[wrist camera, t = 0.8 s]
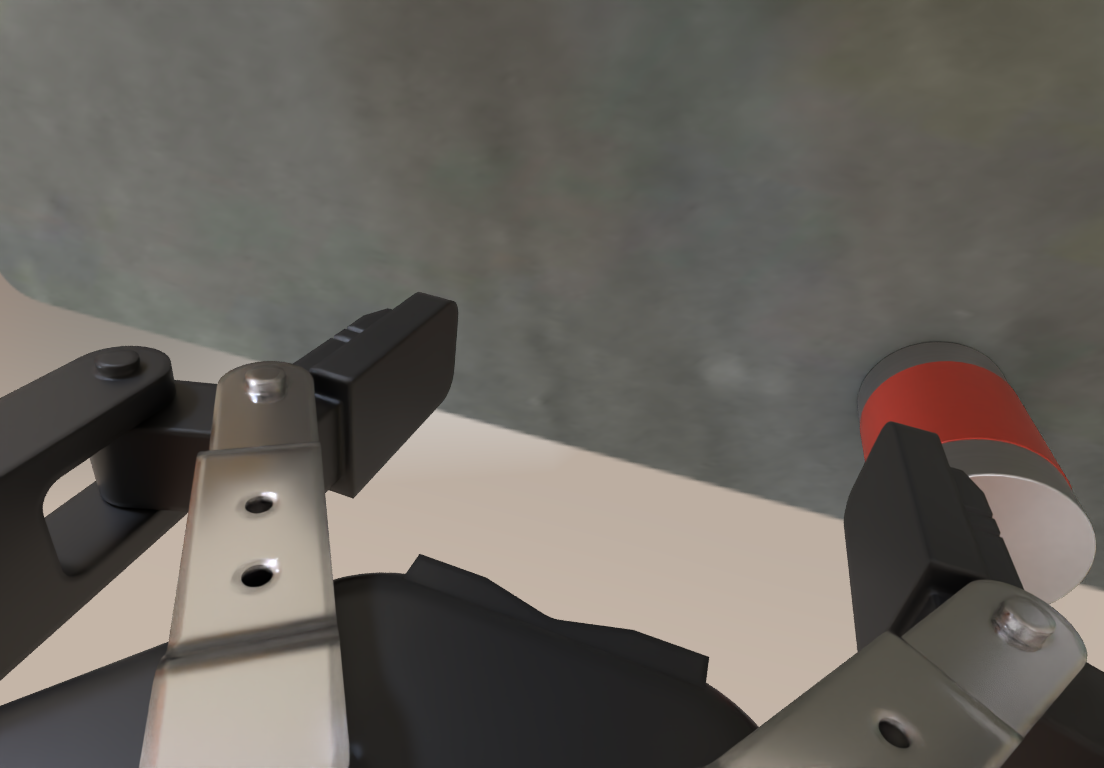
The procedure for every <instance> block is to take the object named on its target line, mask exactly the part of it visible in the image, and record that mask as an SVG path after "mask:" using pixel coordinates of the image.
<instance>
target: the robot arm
mask: <svg viewBox="0 0 1104 768" xmlns="http://www.w3.org/2000/svg"><path fill="white" fill-rule="evenodd" d="M457 325H458V307H457V304H456V302H454V301H451V300H447V299H444V298H440V297H436V296H433V295H429V294H425V293H422V292H417V293H415V294H414V295H412V296H411V297H410V298H408V299H407V300H405V301H404V302H403V303H401V304H400V305H398V306H397V307H396V308H394V309H393V310H392V309H388V308H387V309H384V310H381V311H377V312H374V313H371V314H367V315H364V316H363V317H361V318H360V319H358V320H357V321H355V322H354V323H352V324H351V325H349V326H348V328H347V329H343V330H342V331H340V332H339V333H338V334H336V335H335V336H334V339H333V338H330V339H329V340H327V341H326V342H324V343H323V344H321V345H320V346H318V347H317V348H316V349H314V350H313V351H311V352H310V353H308V354H307V355H305V356H304V357H302V358H301V359H299V360H298V361H296V362H295V363H293V364H291V363H286V362H279V361H263V362H255V363H250V364H246V365H242V366H240V367H237V368H235V369H233V370H231V371H229V372H228V373H226V374H225V375H224V376H223V377H221V379H220V380H219V382H218V384H211V383H201V382H190V381H180V380H174V377H173V371H172V366H171V361H170V359H169V357H168V356H167V355H166V354H165V353H163V352H161V351H159V350H156V349H153V348H148V347H141V346H120V347H112V348H106V349H102V350H98V351H94V352H92V353H88V354H86V355H84V356H82V357H80V358H77V359H76V360H74V361H72V362H70V363H68V364H66V365H64V366H62V367H60V368H58V369H56V370H54V371H52V372H50V373H48V374H46V375H45V376H43V377H40V378H39V379H37V380H35V381H33V382H31V383H29V384H27V385H25V386H23V387H21V388H19V389H17V390H15V391H13V392H11V393H9V394H7V395H5V396H4V397H1V398H0V680H2V679H3V678H4V677H5V676H6V675H7V674H8V673H9V672H10V671H11V670H12V669H14V668H15V667H16V666H17V665H18V664H19V663H20V662H22V661H23V660H24V659H25V658H26V657H27V656H28V655H29V654H31V653H32V652H33V651H34V650H35V649H36V648H37V647H38V646H40V645H41V644H42V643H43V642H44V641H45V640H46V639H47V638H48V637H50V636H51V635H52V634H53V633H54V632H55V631H56V630H57V629H59V628H60V627H61V626H62V625H63V624H64V623H65V622H66V621H67V620H68V619H70V618H71V617H72V616H73V615H74V614H75V613H76V612H78V611H79V610H80V609H81V608H82V607H83V606H84V605H85V604H87V603H88V602H89V601H90V600H91V599H92V598H93V597H94V596H95V595H97V594H98V593H99V592H100V591H101V590H102V589H103V588H104V587H106V586H107V585H108V584H109V583H110V582H111V581H112V580H113V579H114V578H116V577H117V576H118V575H119V574H120V573H121V572H122V571H123V570H125V569H126V568H127V567H128V566H129V565H130V564H131V563H132V562H133V561H134V560H136V559H137V558H138V557H139V556H140V555H141V554H142V553H144V552H145V551H146V550H147V549H148V548H149V547H150V546H151V545H153V544H154V543H155V542H156V541H157V540H158V539H159V538H160V537H161V536H163V535H164V534H165V533H166V532H167V531H168V530H169V529H170V528H172V527H173V526H174V525H175V524H176V523H177V522H178V521H179V520H180V519H182V518H183V517H184V516H185V515H186V514H187V513H188V517H187V524H186V531H185V537H184V544H183V550H182V558H181V564H180V570H179V577H178V584H177V590H176V597H175V604H174V610H173V617H172V623H171V630H170V637H169V642H167V643H164V644H161V645H159V646H156V647H153V648H151V649H148V650H145V651H143V652H140V653H138V654H135V655H132V656H130V657H127V658H125V659H122V660H119V661H117V662H114V663H112V664H109V665H106V666H104V667H101V668H98V669H96V670H93V671H91V672H88V673H85V674H83V675H80V676H77V677H75V678H72V679H70V680H67V681H64V682H62V683H59V684H56V685H54V686H51V687H49V688H46V689H43V690H41V691H38V692H35V693H33V694H30V695H28V696H25V697H22V698H20V699H17V700H15V701H12V702H9V703H7V704H4V705H1V706H0V768H1104V672H1103V671H1101V670H1099V669H1097V668H1095V667H1094V666H1092V665H1090V664H1089V663H1087V662H1086V661H1087V651H1086V647H1085V645H1084V642H1083V640H1082V639H1081V637H1080V635H1079V634H1078V632H1077V631H1076V630H1075V628H1074V627H1073V626H1072V625H1071V624H1070V623H1069V622H1068V621H1067V620H1066V619H1065V618H1064V617H1063V616H1062V615H1061V614H1060V613H1059V612H1058V611H1056V610H1055V609H1054V608H1053V607H1051V606H1050V605H1049V604H1047V603H1046V602H1044V601H1043V600H1041V599H1040V598H1038V597H1036V596H1035V595H1033V594H1031V593H1029V592H1027V591H1025V590H1024V588H1023V585H1022V583H1021V581H1020V578H1019V576H1018V573H1017V571H1016V569H1015V566H1014V564H1013V561H1012V559H1011V557H1010V554H1009V552H1008V549H1007V547H1006V544H1005V542H1004V540H1003V537H1000V533H1001V532H1000V530H999V528H998V525H997V523H996V520H995V519H993V518H992V516H993V513H992V511H991V508H990V506H989V504H988V501H987V499H986V496H985V494H984V492H983V491H982V490H981V489H980V488H979V487H978V486H977V485H976V484H975V483H974V482H973V481H972V480H971V479H970V477H969V476H968V475H967V474H966V473H965V472H964V471H963V470H960V469H956V468H953V467H950V465H949V463H948V460H947V457H946V454H945V452H944V449H943V446H942V443H941V441H940V438H939V436H938V434H936V433H933V432H930V431H926V430H922V429H919V428H915V427H911V426H908V425H904V424H900V423H897V422H893V421H889V422H887V423H886V424H885V425H884V426H883V428H882V429H881V431H880V433H879V435H878V437H877V439H876V441H875V443H874V445H873V447H872V449H871V451H870V453H869V455H868V457H867V459H866V461H865V464H864V466H863V468H862V470H861V472H860V474H859V476H858V478H857V480H856V482H855V484H854V486H853V488H852V490H851V493H850V495H849V498H848V501H847V505H846V509H845V515H844V530H845V539H846V548H847V558H848V566H849V576H850V586H851V595H852V604H853V613H854V623H855V631H856V641H857V650H858V652H857V653H856V654H855V655H853V656H852V657H851V658H849V659H848V660H847V661H846V662H844V663H843V664H842V665H840V666H839V667H838V668H836V669H835V670H834V671H832V672H831V673H830V674H828V675H827V676H826V677H824V678H823V679H822V680H821V681H820V682H818V683H817V684H815V685H814V686H813V687H811V688H810V689H809V690H808V691H806V692H805V693H803V694H802V695H801V696H799V697H798V698H797V699H796V700H794V701H793V702H792V703H790V704H789V705H788V706H786V707H785V708H784V709H782V710H781V711H780V712H778V713H777V714H776V715H775V716H773V717H772V718H771V719H769V720H768V721H767V722H765V723H764V724H763V725H762V726H760V727H758V726H757V724H756V723H755V722H754V721H753V720H752V719H751V718H750V717H749V716H748V715H747V714H746V713H745V712H743V710H741V709H740V708H739V707H738V706H737V705H736V704H735V703H733V702H732V701H731V700H730V699H728V698H727V697H726V696H724V695H723V694H722V693H720V692H719V691H718V690H716V689H715V688H713V687H712V686H710V685H709V684H707V683H706V677H707V670H708V662H709V657H708V656H705V655H702V654H699V653H696V652H694V651H691V650H688V649H685V648H682V647H680V646H677V645H674V644H671V643H668V642H666V641H663V640H660V639H657V638H654V637H652V636H649V635H646V634H643V633H640V632H637V631H635V630H630V629H622V628H615V627H608V626H600V625H593V624H585V623H578V622H571V621H563V620H557V619H554V618H551V617H548V616H547V615H544V614H543V613H541V612H540V611H538V610H537V609H535V608H533V607H532V606H530V605H529V604H527V603H526V602H524V601H522V600H521V599H519V598H517V597H516V596H514V595H513V594H511V593H510V592H508V591H507V590H505V589H503V588H502V587H500V586H499V585H497V584H495V583H494V582H492V581H490V580H489V579H488V578H486V577H483V576H480V575H477V574H475V573H472V572H469V571H466V570H463V569H460V568H458V567H455V566H452V565H449V564H447V563H444V562H441V561H438V560H435V559H433V558H430V557H427V556H424V555H421V554H419V556H418V557H417V559H416V560H415V561H414V563H413V564H412V566H411V567H410V569H409V570H408V571H407V573H406V574H401V573H367V574H358V575H352V576H346V577H342V578H338V579H335V580H333V575H332V566H331V565H332V564H331V553H330V544H329V531H328V520H327V509H326V498H325V493H326V492H327V491H328V490H330V491H333V492H336V493H339V494H342V495H345V496H348V497H351V498H354V497H355V496H356V495H357V494H358V493H359V492H360V491H361V490H362V488H363V487H364V486H365V485H366V484H367V483H368V482H369V481H370V480H371V479H372V478H373V477H374V475H375V474H376V473H377V472H378V471H379V470H380V469H381V468H382V467H383V466H384V465H385V464H386V463H387V461H388V460H389V459H390V458H391V457H392V456H393V455H394V454H395V453H396V452H397V451H398V450H399V448H400V447H401V446H402V445H403V444H404V443H405V442H406V441H407V440H408V438H410V436H411V435H412V434H413V433H414V432H415V431H416V430H417V429H418V428H419V427H420V426H421V425H422V423H423V422H424V421H425V420H426V419H427V418H428V417H429V416H430V415H431V414H432V413H433V412H434V411H435V409H436V408H437V407H438V406H439V405H440V404H441V403H442V402H443V401H444V399H445V398H446V396H447V394H448V392H449V389H450V387H451V383H452V380H453V375H454V365H455V351H456V338H457ZM88 458H90V461H91V464H92V468H93V471H94V474H95V479H96V481H95V482H94V483H92V484H91V485H89V486H88V487H87V488H85V489H84V490H83V491H81V492H80V493H78V494H77V495H76V496H74V497H73V498H71V499H70V500H68V501H67V502H66V503H64V504H63V505H61V506H60V507H59V508H57V509H56V510H55V511H53V512H52V513H51V514H49V515H48V516H46V517H45V518H44V515H43V502H44V498H45V496H46V494H47V492H48V490H49V489H50V487H51V486H52V485H53V484H54V483H55V482H56V481H57V480H58V479H59V478H60V477H62V476H63V475H64V474H66V473H68V472H69V471H71V470H72V469H74V468H75V467H76V466H78V465H79V464H81V463H82V462H84V461H86V460H87V459H88Z"/></svg>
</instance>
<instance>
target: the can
mask: <svg viewBox="0 0 1104 768" xmlns="http://www.w3.org/2000/svg"><path fill="white" fill-rule="evenodd" d="M857 408H858V415H859V421H860V434H861V440H862V446H863V452H864V458H865V461H866V459H867V457H868V455H869V453H870V451H871V449H872V447H873V445H874V443H875V441H876V439H877V437H878V435H879V433H880V431H881V429H882V428H883V426H884V425H885V424H886V423H887V422H889V421H893V422H897V423H900V424H904V425H908V426H911V427H915V428H919V429H922V430H926V431H930V432H933V433H936V434H938V436H939V438H940V441H941V443H942V446H943V449H944V452H945V454H946V457H947V460H948V463H949V465H950V467H953V468H956V469H960V470H963V471H964V472H965V473H966V474H967V475H968V476H969V477H970V479H971V480H972V481H973V482H974V483H975V484H976V485H977V486H978V487H979V488H980V489H981V490H982V491H983V492H984V494H985V496H986V499H987V501H988V504H989V506H990V508H991V511H992V513H993V516H992V518H993V519H995V520H996V523H997V525H998V528H999V530H1000V532H1001V533H1000V537H1003V540H1004V542H1005V544H1006V547H1007V549H1008V552H1009V554H1010V557H1011V559H1012V561H1013V564H1014V566H1015V569H1016V571H1017V573H1018V576H1019V578H1020V581H1021V583H1022V585H1023V588H1024V590H1025V591H1027V592H1029V593H1031V594H1033V595H1035V596H1036V597H1038V598H1040V599H1041V600H1043V601H1044V602H1046V603H1047V604H1051V603H1053V602H1055V601H1057V600H1059V599H1060V598H1062V597H1064V596H1065V595H1067V594H1068V593H1069V592H1071V591H1072V590H1073V589H1074V588H1075V587H1076V586H1077V585H1078V584H1079V583H1080V582H1081V581H1082V580H1083V579H1084V577H1085V576H1086V575H1087V573H1088V572H1089V570H1090V568H1091V565H1092V563H1093V560H1094V556H1095V552H1096V538H1095V532H1094V529H1093V526H1092V524H1091V521H1090V520H1089V518H1088V516H1087V515H1086V513H1085V511H1084V510H1083V508H1082V506H1081V505H1080V503H1079V501H1078V500H1077V498H1076V496H1075V495H1074V493H1073V491H1072V488H1071V485H1070V483H1069V481H1068V479H1067V478H1066V476H1065V474H1064V473H1063V471H1062V469H1061V468H1060V466H1059V464H1058V463H1057V461H1056V459H1055V458H1054V456H1053V454H1052V453H1051V451H1050V449H1049V448H1048V446H1047V444H1046V443H1045V441H1044V439H1043V438H1042V436H1041V434H1040V433H1039V431H1038V429H1037V428H1036V426H1035V424H1034V423H1033V421H1032V419H1031V418H1030V416H1029V414H1028V413H1027V411H1026V409H1025V408H1024V406H1023V404H1022V403H1021V401H1020V399H1019V398H1018V396H1017V394H1016V393H1015V391H1014V390H1013V389H1012V388H1011V386H1010V385H1009V384H1008V382H1007V380H1006V379H1005V377H1004V375H1003V374H1002V372H1001V371H1000V369H999V368H998V367H997V365H996V364H995V363H994V362H993V361H992V360H990V359H989V358H988V357H987V356H985V355H984V354H982V353H980V352H979V351H977V350H974V349H972V348H970V347H967V346H963V345H960V344H955V343H947V342H929V343H921V344H916V345H912V346H909V347H906V348H903V349H900V350H898V351H896V352H894V353H892V354H890V355H889V356H887V357H886V358H884V359H883V360H882V361H880V362H879V363H878V364H877V365H876V366H875V367H874V368H873V369H872V370H871V371H870V372H869V373H868V375H867V376H866V378H865V379H864V381H863V383H862V385H861V388H860V390H859V394H858V401H857Z"/></svg>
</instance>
